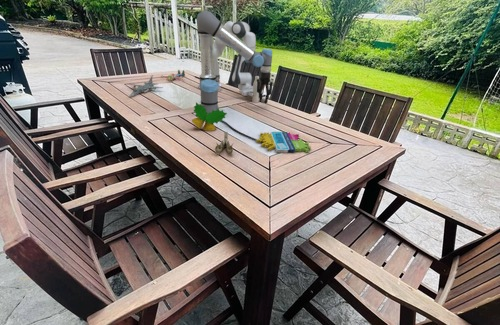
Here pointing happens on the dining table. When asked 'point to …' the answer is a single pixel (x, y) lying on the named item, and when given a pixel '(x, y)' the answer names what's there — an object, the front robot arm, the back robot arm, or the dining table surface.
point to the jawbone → (224, 145)
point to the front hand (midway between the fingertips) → (263, 102)
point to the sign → (283, 142)
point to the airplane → (143, 87)
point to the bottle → (255, 91)
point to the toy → (174, 76)
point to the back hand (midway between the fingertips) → (256, 94)
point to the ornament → (207, 117)
